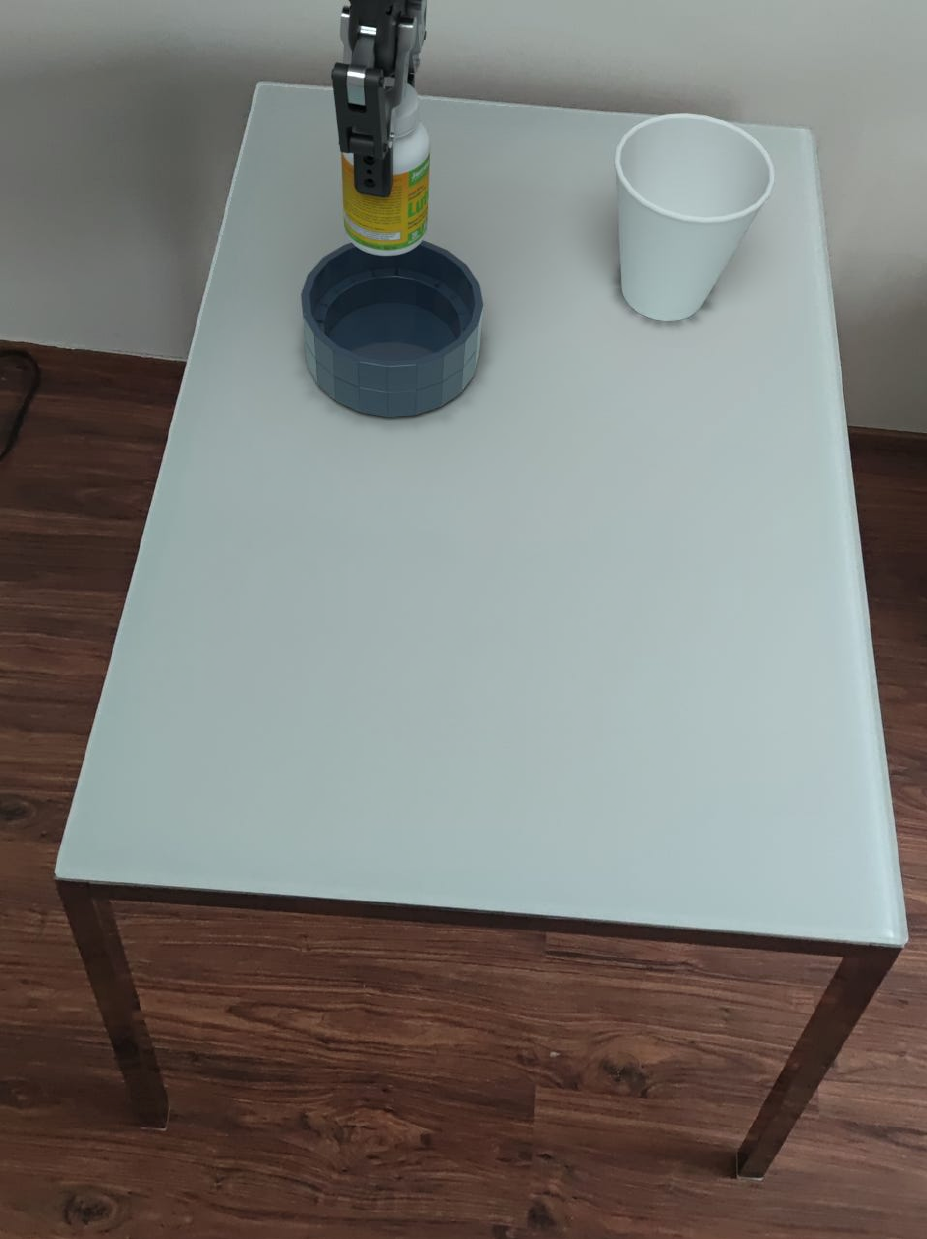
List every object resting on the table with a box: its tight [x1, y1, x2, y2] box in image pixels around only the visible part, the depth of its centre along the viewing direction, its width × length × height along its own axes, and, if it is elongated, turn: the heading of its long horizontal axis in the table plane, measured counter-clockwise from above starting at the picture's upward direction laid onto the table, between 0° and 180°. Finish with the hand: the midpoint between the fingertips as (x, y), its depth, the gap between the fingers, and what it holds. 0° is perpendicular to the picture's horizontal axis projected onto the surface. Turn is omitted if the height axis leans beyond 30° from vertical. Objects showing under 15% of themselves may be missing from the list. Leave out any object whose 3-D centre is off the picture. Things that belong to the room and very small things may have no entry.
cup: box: [613, 112, 776, 322], centre depth 94 cm, size 12×12×12 cm
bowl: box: [300, 239, 484, 418], centre depth 92 cm, size 13×13×6 cm
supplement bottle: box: [340, 77, 431, 256], centre depth 75 cm, size 5×5×10 cm
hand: (384, 158), depth 74 cm, fingers closed on supplement bottle, 5 cm apart
